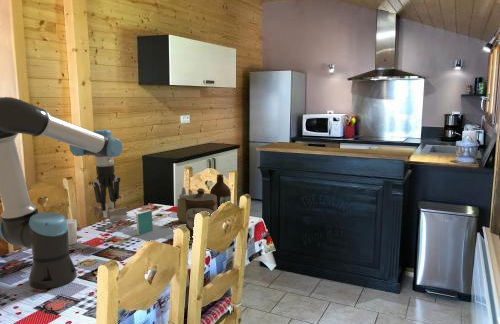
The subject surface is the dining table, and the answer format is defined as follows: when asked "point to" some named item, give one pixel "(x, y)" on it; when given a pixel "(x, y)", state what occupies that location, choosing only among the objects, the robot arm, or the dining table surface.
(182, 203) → the squeeze bottle
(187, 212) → the wooden container
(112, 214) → the brown rectangular box
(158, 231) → the slate mat
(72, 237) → the white cup
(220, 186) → the olive oil
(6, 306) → the dining table surface
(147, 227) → the tile
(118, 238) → the dining table surface
